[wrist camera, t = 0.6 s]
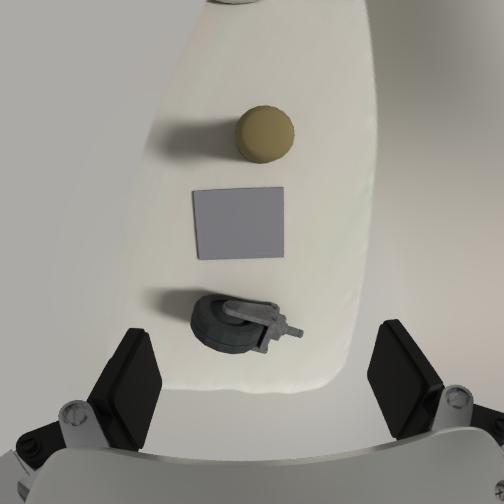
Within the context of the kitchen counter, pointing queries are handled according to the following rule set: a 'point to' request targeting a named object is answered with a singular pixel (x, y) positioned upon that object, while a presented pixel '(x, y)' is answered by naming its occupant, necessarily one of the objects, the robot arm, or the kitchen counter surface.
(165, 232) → the kitchen counter surface
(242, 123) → the cork
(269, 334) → the caster wheel
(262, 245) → the mat
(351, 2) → the kitchen counter surface
